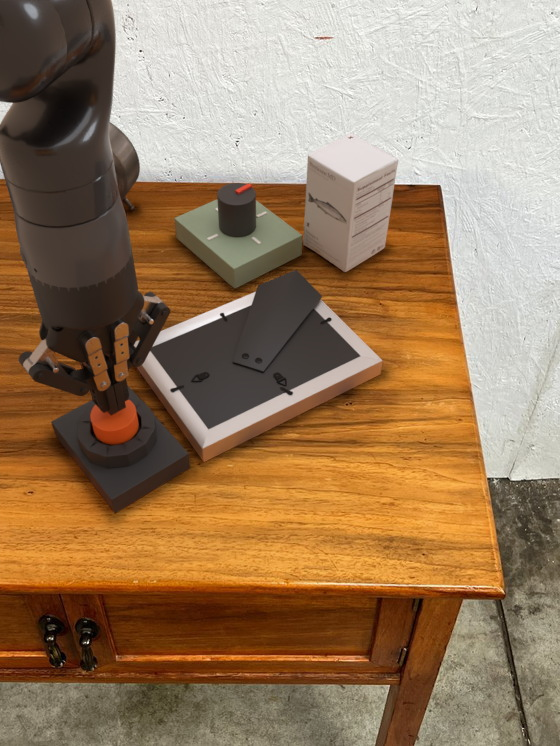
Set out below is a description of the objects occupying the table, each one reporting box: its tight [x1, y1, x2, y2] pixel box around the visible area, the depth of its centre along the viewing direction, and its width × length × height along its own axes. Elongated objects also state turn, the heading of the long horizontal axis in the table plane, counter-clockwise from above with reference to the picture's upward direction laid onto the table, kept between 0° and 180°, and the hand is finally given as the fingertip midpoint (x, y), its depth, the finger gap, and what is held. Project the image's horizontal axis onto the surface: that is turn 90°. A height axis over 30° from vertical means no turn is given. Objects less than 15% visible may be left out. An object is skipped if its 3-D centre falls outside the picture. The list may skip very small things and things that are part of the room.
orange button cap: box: [90, 399, 139, 445], centre depth 69 cm, size 4×4×2 cm
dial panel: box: [173, 199, 303, 290], centre depth 93 cm, size 12×10×3 cm
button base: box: [50, 384, 191, 514], centre depth 71 cm, size 11×8×4 cm
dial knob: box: [216, 182, 257, 237], centre depth 90 cm, size 4×4×5 cm
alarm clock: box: [109, 121, 141, 212], centre depth 93 cm, size 11×5×16 cm, turn 72°
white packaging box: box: [302, 132, 399, 273], centre depth 89 cm, size 7×7×13 cm
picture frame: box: [134, 269, 384, 463], centre depth 79 cm, size 16×3×21 cm
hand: (113, 405), depth 68 cm, fingers closed
